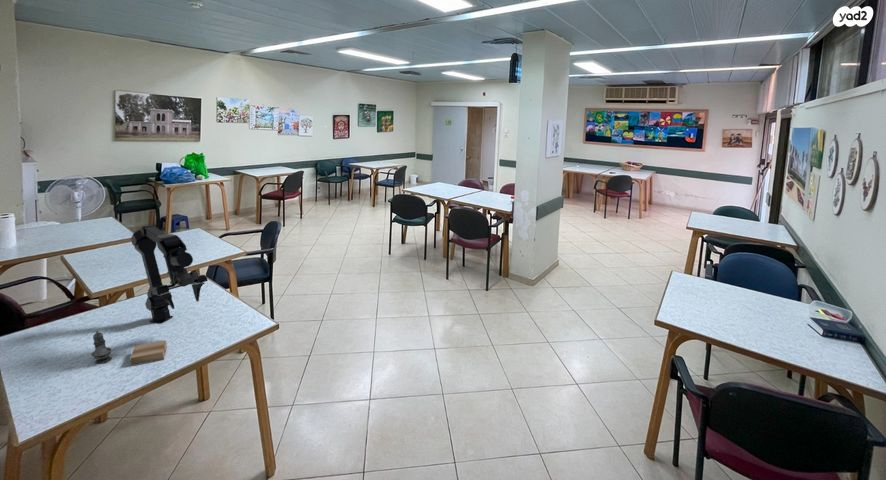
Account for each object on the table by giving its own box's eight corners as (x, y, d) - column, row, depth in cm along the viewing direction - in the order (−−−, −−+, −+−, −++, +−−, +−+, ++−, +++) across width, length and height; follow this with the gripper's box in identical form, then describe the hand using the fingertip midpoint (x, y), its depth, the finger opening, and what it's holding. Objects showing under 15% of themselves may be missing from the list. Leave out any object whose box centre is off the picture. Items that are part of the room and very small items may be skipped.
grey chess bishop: (91, 366, 159) (84, 336, 156) (95, 358, 164) (88, 329, 161) (111, 362, 162) (105, 332, 159) (114, 354, 167) (108, 326, 164)
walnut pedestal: (136, 352, 169) (135, 345, 168) (166, 347, 173) (165, 340, 172) (131, 365, 160) (130, 358, 159) (163, 359, 164) (162, 352, 163)
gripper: (158, 273, 163) (169, 314, 165) (208, 260, 177) (218, 298, 179) (146, 274, 169) (157, 312, 172) (196, 261, 184) (205, 297, 186)
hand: (185, 305), depth 177 cm, fingers open, 9 cm apart
